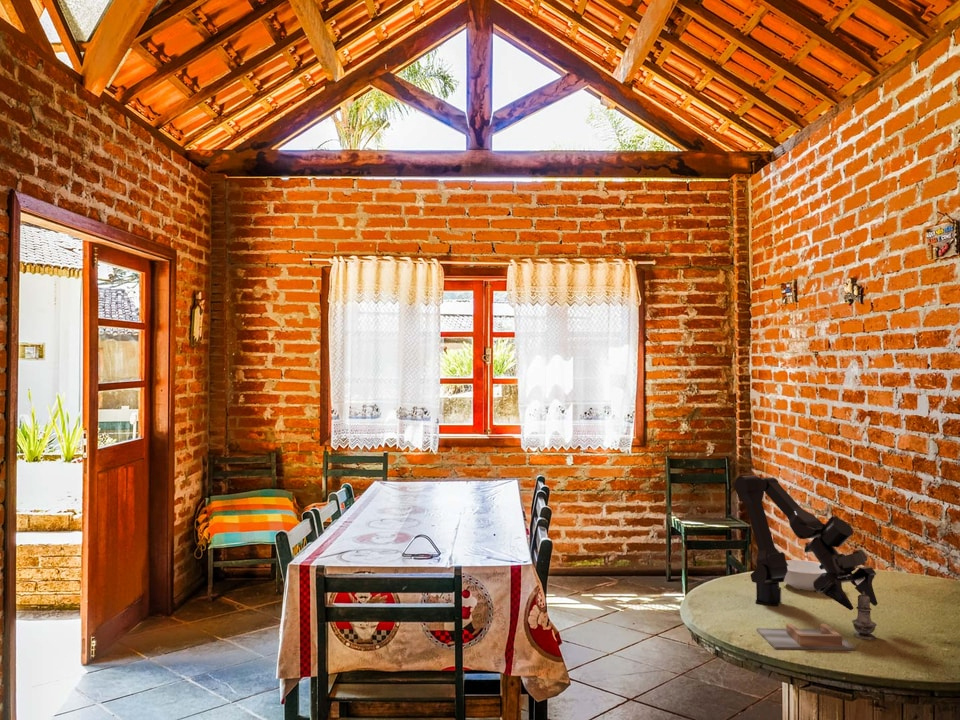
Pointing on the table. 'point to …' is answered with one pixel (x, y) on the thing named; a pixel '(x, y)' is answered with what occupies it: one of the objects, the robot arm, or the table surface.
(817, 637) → the wooden u-frame tray
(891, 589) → the table surface
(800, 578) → the cereal bowl
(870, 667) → the table surface
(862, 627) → the salt shaker
